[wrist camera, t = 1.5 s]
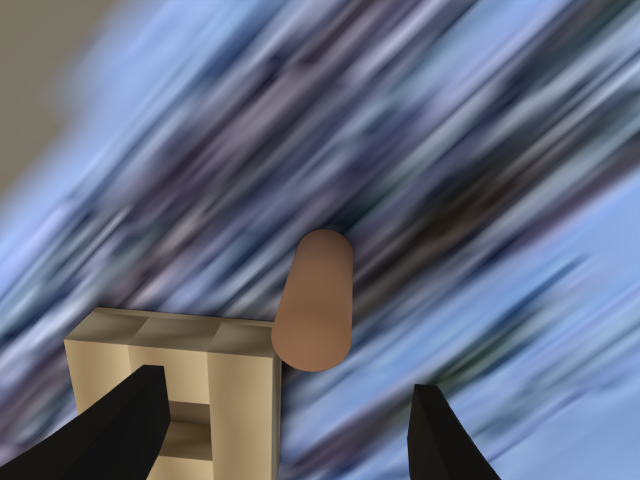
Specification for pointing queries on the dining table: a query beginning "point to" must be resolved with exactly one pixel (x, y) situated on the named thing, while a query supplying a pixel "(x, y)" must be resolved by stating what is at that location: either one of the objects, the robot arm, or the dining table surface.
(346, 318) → the pin
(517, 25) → the dining table surface
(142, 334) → the bore block
